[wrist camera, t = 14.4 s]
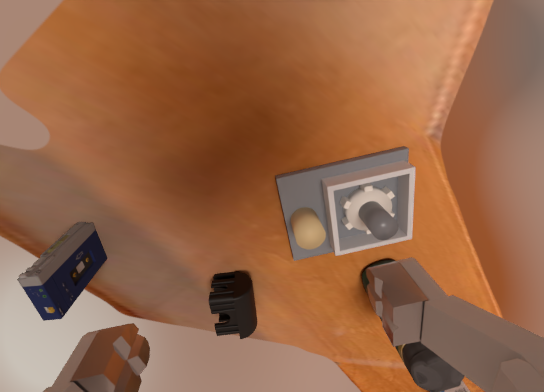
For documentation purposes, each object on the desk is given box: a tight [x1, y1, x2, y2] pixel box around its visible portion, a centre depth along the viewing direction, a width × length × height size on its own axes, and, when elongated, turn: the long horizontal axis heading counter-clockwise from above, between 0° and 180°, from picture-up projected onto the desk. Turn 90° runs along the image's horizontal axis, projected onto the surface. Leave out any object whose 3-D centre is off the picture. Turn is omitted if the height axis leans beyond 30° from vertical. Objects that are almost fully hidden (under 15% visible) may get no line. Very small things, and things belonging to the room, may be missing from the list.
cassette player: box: [17, 222, 107, 320], centre depth 36 cm, size 7×2×12 cm, turn 2°
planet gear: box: [340, 183, 399, 240], centre depth 38 cm, size 9×8×7 cm
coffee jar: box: [362, 260, 464, 392], centre depth 42 cm, size 10×8×19 cm
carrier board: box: [275, 146, 415, 261], centre depth 39 cm, size 16×20×6 cm
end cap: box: [209, 272, 257, 339], centre depth 45 cm, size 10×7×7 cm
